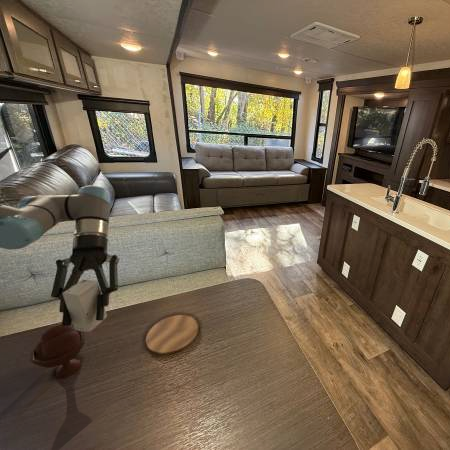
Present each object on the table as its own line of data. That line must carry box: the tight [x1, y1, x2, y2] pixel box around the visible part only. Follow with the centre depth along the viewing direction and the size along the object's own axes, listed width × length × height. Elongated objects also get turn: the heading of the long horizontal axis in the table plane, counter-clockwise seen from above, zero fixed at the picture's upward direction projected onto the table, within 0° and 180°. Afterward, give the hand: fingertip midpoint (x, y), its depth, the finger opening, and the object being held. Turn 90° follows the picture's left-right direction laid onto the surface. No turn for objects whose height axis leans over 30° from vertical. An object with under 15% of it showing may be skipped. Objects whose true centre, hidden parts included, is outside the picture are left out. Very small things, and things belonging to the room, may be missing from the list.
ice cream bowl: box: [30, 322, 86, 379], centre depth 68 cm, size 11×11×15 cm
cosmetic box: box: [62, 279, 108, 333], centre depth 65 cm, size 6×4×12 cm
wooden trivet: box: [145, 314, 199, 355], centre depth 85 cm, size 16×16×1 cm
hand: (83, 322), depth 63 cm, fingers closed on cosmetic box, 6 cm apart
